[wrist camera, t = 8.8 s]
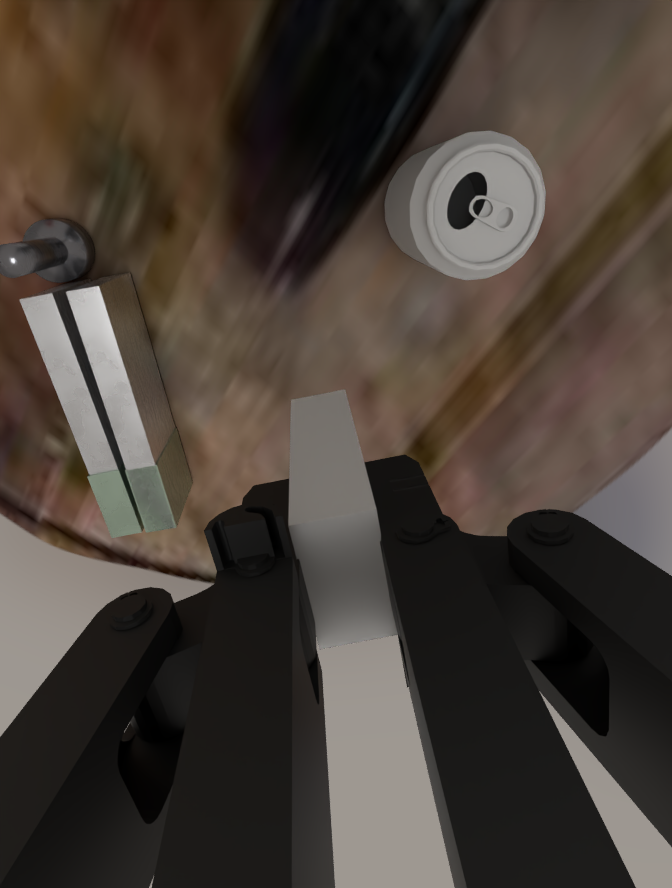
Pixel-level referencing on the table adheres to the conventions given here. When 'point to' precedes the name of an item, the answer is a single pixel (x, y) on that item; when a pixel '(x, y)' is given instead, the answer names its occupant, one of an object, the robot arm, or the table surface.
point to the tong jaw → (133, 397)
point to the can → (467, 205)
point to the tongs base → (73, 358)
